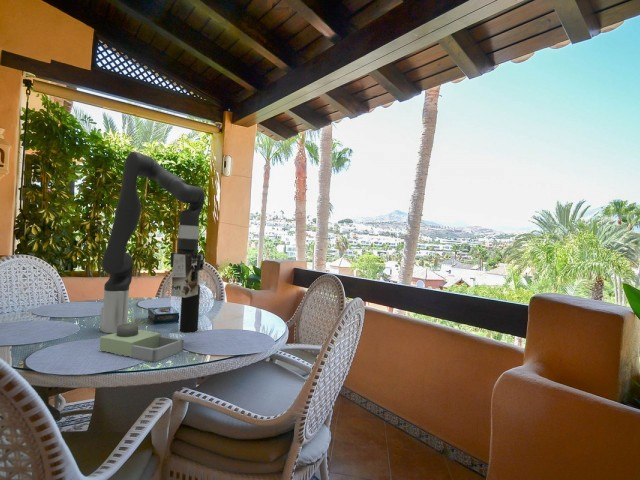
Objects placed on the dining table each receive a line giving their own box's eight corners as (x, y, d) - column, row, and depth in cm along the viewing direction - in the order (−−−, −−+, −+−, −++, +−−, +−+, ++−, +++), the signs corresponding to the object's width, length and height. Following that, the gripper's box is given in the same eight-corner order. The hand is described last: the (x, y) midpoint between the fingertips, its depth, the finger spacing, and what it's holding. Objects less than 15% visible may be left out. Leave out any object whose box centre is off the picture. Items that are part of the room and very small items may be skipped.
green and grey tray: (99, 351, 132) (100, 328, 132) (131, 341, 145) (132, 320, 145) (154, 362, 124) (155, 338, 124) (182, 350, 137) (183, 329, 137)
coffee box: (185, 298, 139) (188, 254, 139) (170, 296, 141) (173, 253, 140) (198, 294, 148) (201, 253, 148) (183, 292, 149) (186, 252, 149)
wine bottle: (180, 333, 160) (184, 263, 160) (178, 328, 167) (182, 261, 166) (199, 332, 164) (202, 263, 163) (196, 327, 170) (199, 261, 170)
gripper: (210, 238, 145) (207, 281, 146) (179, 236, 150) (176, 277, 150) (197, 238, 138) (195, 283, 138) (166, 236, 143) (163, 279, 143)
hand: (185, 280), depth 144 cm, fingers closed on coffee box, 7 cm apart
